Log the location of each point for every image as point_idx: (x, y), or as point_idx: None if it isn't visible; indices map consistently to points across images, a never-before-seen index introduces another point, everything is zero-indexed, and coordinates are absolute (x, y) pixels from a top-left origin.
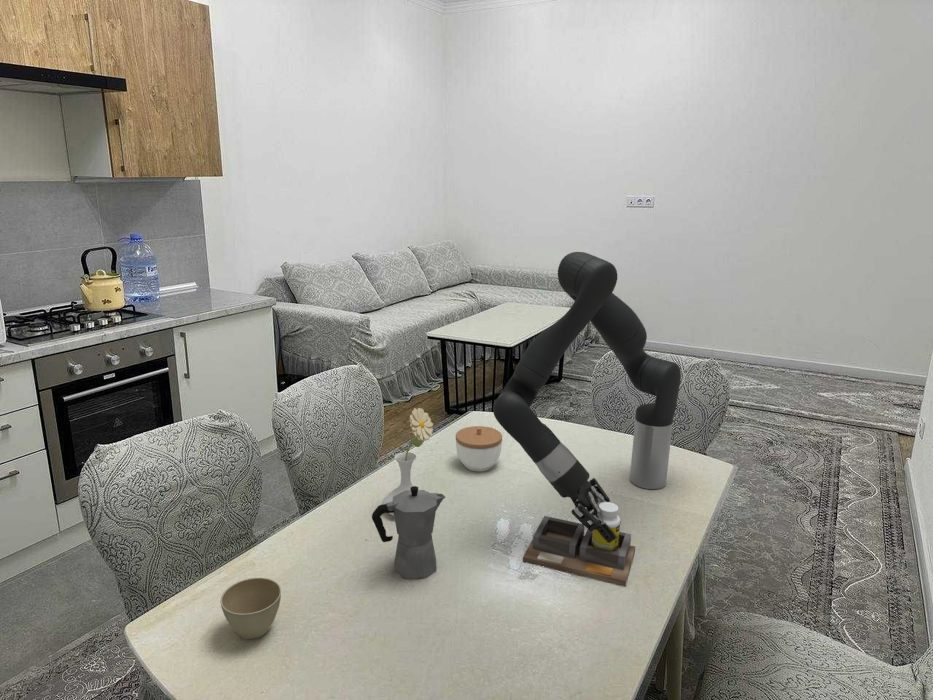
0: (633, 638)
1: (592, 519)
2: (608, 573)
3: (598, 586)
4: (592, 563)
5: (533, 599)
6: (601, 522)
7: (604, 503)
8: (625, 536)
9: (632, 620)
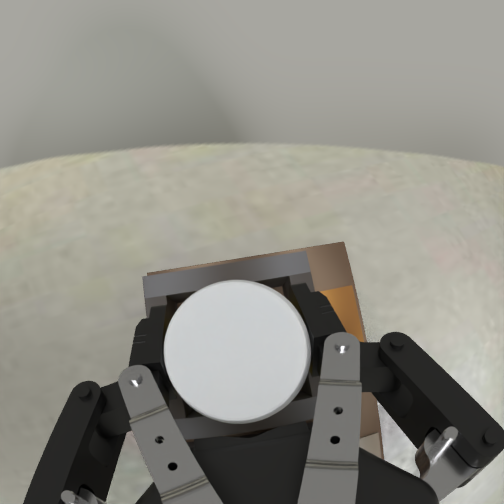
0: (463, 186)
1: (441, 368)
2: (347, 294)
3: (380, 308)
4: None
5: (486, 404)
6: (358, 343)
7: (205, 393)
8: (168, 291)
9: (430, 199)
